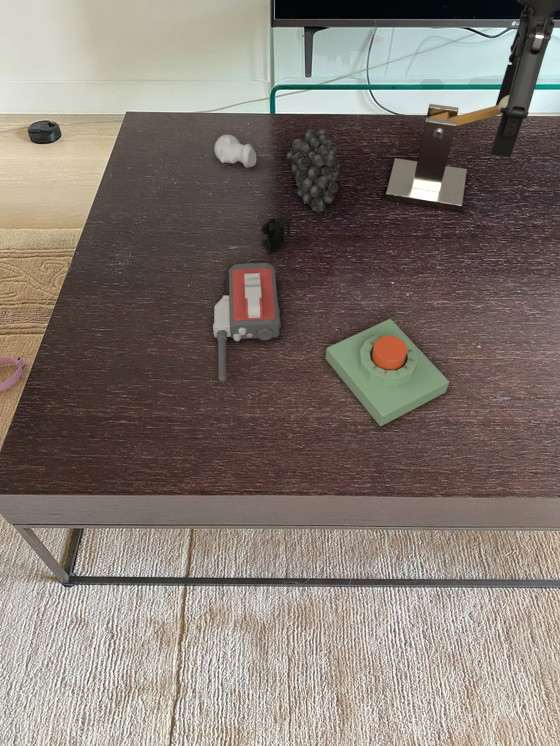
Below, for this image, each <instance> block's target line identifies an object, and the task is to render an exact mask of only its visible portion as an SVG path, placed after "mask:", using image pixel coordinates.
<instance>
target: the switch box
mask: <svg viewBox="0 0 560 746" xmlns="http://www.w3.org/2000/svg"><path fill="white" fill-rule="evenodd" d="M383 336H394V337H397V338H399V339H401V340H402V341H403V342H404V343H405V344H406V347H407V354H406V358H405V362H404V364H403V365H402V366H401V367H400V368H398V369H395V370H385V369H382V368H380V367H378V366H377V365H376V364H375V363H374V361H373V359H372V352H373V347H374V343H375V342H376V341H377V340H378V339H379V338H381V337H383ZM325 360H326V361H327V363H328V364H329V365H330V366H331V367H332V369H333V370H334V371H335V373H336V374H337V375H338V376H339V377H340V379H341V380H342V381H343V382H344V384H345V385H346V386H347V388H349V390H350V391H351V393H353V395H354V396H355V397H356V399H357V400H358V401H359V402H360V403H361V405H362V406H363V407H364V408H365V410H366V411H367V412H368V413H369V415H370V416H371V417H372V418H373V420H374V421H375V422H376V423H377V424H378V426H379V427H383V426H384V425H386V424H388V423H390V422H392V421H393V420H395V419H398V418H400V417H401V416H403V415H405V414H407V413H409V412H411V411H413V410H415V409H416V408H418V407H420V406H423V405H424V404H426V403H428V402H430V401H432V400H434V399H436V398H437V397H440V396H442V395H444V394H445V393H446V392H447V391H448V390H447V389H448V387H449V384H450V381H449V379H447V377H446V376H445V375H444V374H443V373H442V372H441V371H440V370H439V369H438V367H436V366H435V365H434V364H433V362H432V361H431V360H430V359H429V358H428V357H427V356H426V355H425V353H423V352H422V351H421V349H419V347H418V346H416V344H415V343H414V342H413V341H412V340H411V339H410V338H409V337H408V336H407V335H406V334H405V333H404V331H403V330H402V329H401V328H400V327H399V326H398V325H397V324H396V323H395V322H394V320H393V319H392V318H388V319H386V320H384V321H382V322H380V323H377V324H376V325H374V326H371V327H369V328H367V329H364V330H361V331H360V332H358V333H355V334H354V335H352V336H349V337H347V338H345V339H343V340H340V341H338V342H337V343H334V344H332V345H330V346H328V347H326V350H325Z"/></svg>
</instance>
